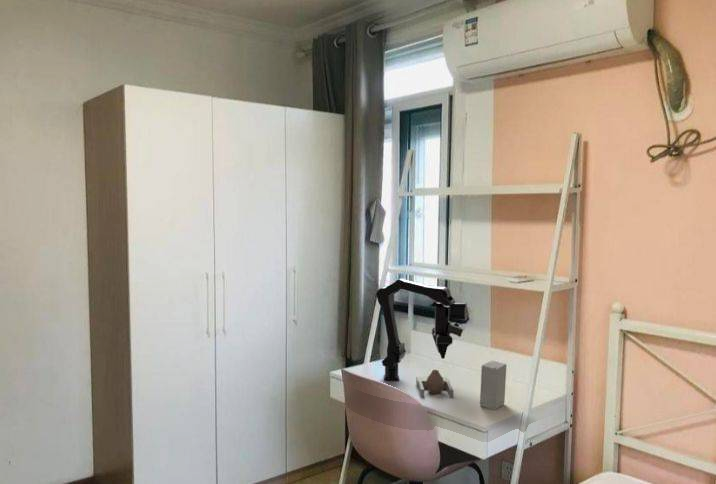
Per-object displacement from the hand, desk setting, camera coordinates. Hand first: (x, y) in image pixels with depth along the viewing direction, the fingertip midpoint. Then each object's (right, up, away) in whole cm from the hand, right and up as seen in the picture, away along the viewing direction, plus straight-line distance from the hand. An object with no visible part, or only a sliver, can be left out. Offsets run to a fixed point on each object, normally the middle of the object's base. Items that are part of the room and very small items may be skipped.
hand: (441, 355), depth 235 cm
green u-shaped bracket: (-4, -13, -6) cm, 15 cm away
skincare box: (+16, -14, -23) cm, 31 cm away
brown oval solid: (-4, -13, -8) cm, 16 cm away
